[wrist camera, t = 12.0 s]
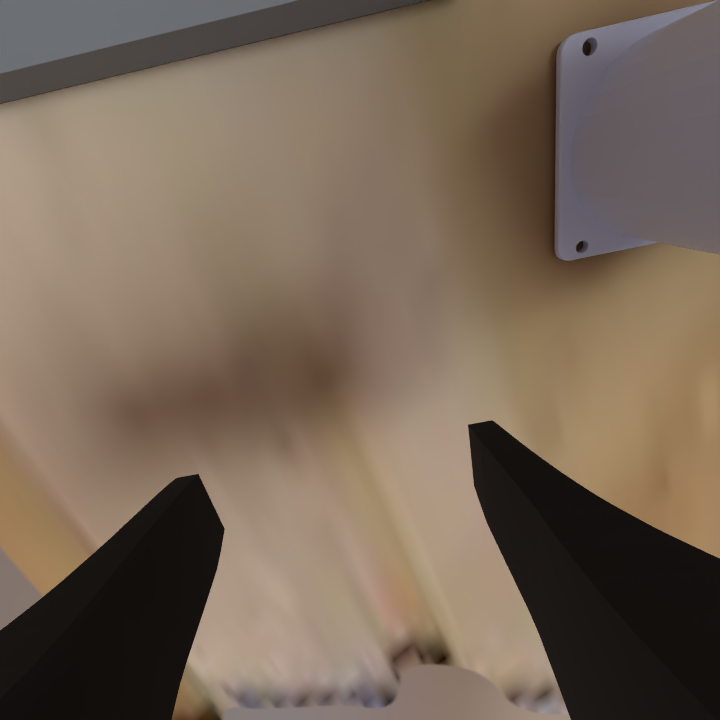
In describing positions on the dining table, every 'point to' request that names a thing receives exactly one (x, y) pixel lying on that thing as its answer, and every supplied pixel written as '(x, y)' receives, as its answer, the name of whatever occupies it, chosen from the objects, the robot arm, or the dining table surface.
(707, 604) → the robot arm
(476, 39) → the dining table surface
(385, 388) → the dining table surface
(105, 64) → the socket board
